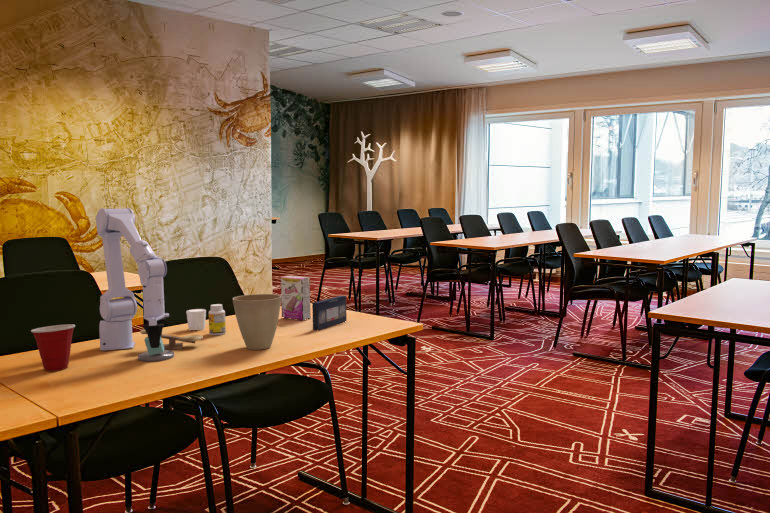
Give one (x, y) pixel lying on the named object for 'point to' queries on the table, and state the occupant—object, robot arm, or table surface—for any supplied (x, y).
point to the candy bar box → (295, 297)
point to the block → (154, 350)
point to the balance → (173, 339)
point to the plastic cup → (54, 345)
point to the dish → (156, 356)
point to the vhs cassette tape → (329, 312)
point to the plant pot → (257, 318)
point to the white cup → (196, 319)
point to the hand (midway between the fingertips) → (155, 345)
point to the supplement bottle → (217, 320)
